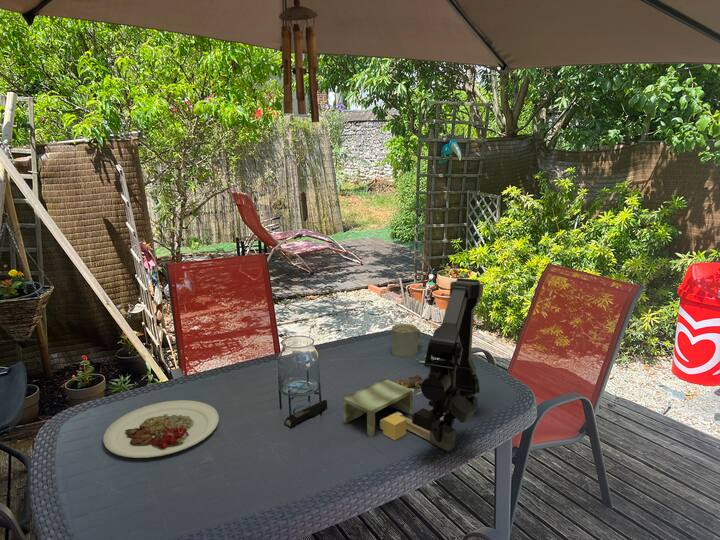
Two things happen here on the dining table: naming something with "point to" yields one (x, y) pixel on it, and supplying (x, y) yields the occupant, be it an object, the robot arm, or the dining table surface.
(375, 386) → the sage cubby
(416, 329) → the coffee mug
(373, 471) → the dining table surface
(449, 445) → the crook tool
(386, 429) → the ochre cube
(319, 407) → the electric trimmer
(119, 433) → the plated food
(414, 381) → the frog figurine
